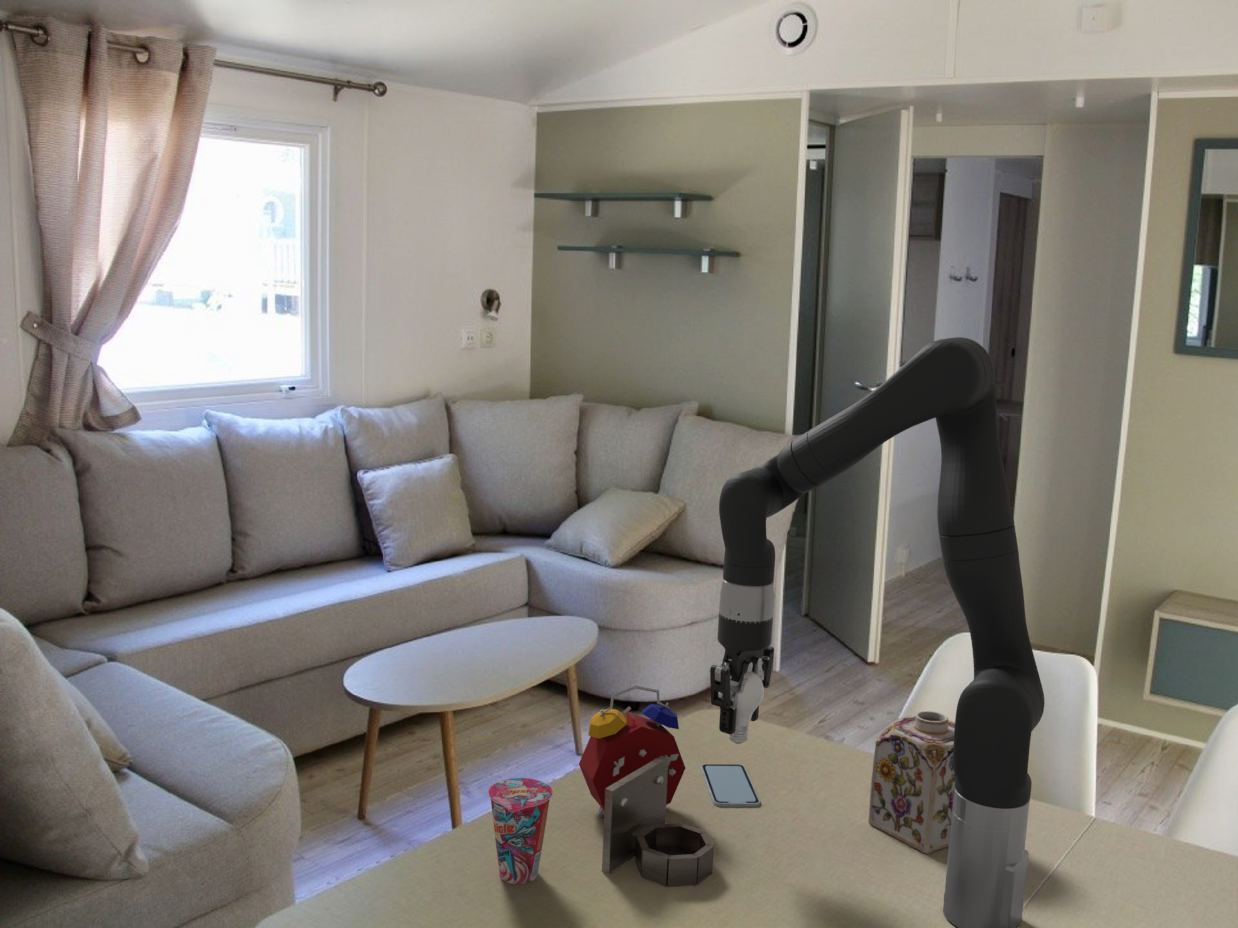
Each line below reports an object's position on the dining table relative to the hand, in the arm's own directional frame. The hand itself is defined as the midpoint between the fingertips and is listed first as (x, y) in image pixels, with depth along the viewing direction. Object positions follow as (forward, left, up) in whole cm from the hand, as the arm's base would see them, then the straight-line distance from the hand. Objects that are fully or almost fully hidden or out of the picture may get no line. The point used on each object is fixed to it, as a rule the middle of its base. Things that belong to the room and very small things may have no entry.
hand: (738, 725), depth 174 cm
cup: (+18, +27, -18) cm, 37 cm away
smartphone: (+10, -16, -18) cm, 26 cm away
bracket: (+4, +12, -18) cm, 21 cm away
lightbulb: (0, 0, -3) cm, 3 cm away
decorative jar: (-20, -21, -18) cm, 35 cm away
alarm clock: (+16, +2, -18) cm, 24 cm away
